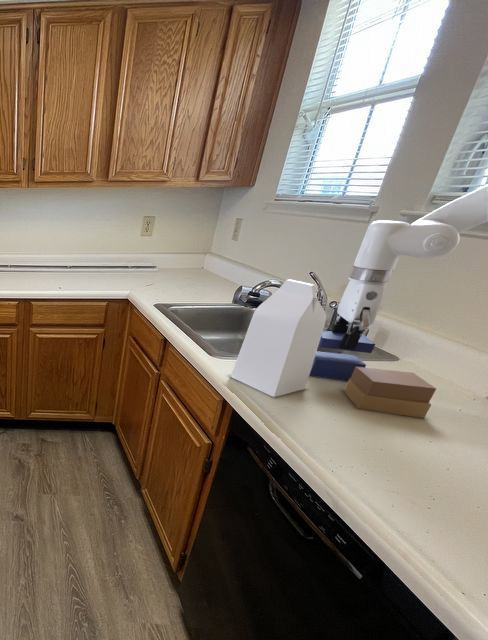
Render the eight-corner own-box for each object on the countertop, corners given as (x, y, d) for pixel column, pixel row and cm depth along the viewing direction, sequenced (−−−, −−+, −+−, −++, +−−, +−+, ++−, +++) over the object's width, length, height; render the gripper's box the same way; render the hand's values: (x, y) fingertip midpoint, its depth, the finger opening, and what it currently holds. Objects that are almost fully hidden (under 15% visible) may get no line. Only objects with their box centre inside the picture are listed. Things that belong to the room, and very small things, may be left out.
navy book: (361, 344, 110) (364, 335, 109) (371, 353, 104) (375, 344, 103) (311, 338, 113) (315, 330, 112) (319, 347, 108) (323, 338, 107)
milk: (230, 376, 110) (259, 278, 99) (260, 369, 114) (291, 275, 103) (273, 397, 100) (311, 290, 89) (305, 388, 104) (344, 286, 93)
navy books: (349, 372, 113) (356, 355, 111) (359, 383, 107) (367, 365, 105) (300, 365, 117) (306, 349, 115) (308, 376, 111) (314, 358, 109)
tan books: (403, 399, 100) (417, 373, 97) (424, 418, 92) (439, 390, 89) (343, 390, 103) (354, 365, 100) (357, 408, 96) (370, 381, 93)
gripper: (406, 284, 92) (373, 358, 100) (373, 269, 107) (346, 335, 115) (365, 281, 94) (335, 353, 102) (338, 267, 109) (314, 331, 117)
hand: (341, 343), depth 108 cm, fingers closed on navy book, 6 cm apart
